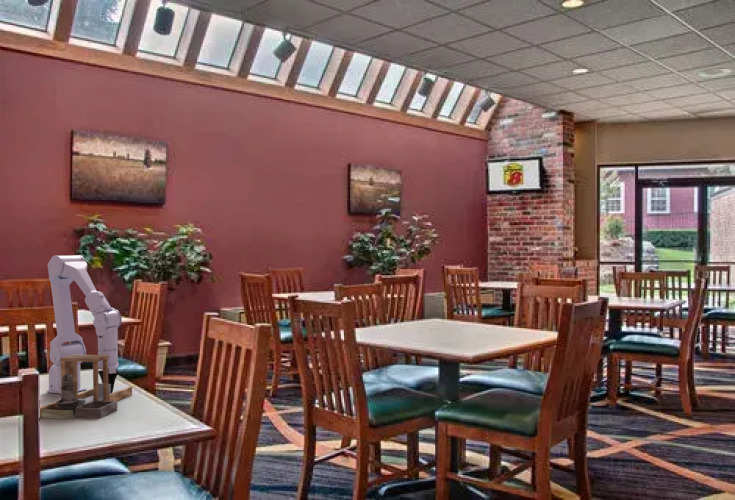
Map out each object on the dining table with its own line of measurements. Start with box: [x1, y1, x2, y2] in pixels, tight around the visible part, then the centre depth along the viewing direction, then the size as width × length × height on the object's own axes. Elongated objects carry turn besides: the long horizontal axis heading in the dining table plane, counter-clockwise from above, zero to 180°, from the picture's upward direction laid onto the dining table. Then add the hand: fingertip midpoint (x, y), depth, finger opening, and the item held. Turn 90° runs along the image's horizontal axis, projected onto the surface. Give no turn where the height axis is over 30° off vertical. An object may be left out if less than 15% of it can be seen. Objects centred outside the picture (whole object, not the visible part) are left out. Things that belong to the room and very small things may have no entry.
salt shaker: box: [55, 371, 79, 416], centre depth 184 cm, size 6×6×12 cm
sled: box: [73, 382, 111, 410], centre depth 194 cm, size 15×6×5 cm, turn 170°
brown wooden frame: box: [39, 354, 133, 420], centre depth 192 cm, size 30×18×15 cm, turn 170°
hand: (108, 393), depth 204 cm, fingers closed
